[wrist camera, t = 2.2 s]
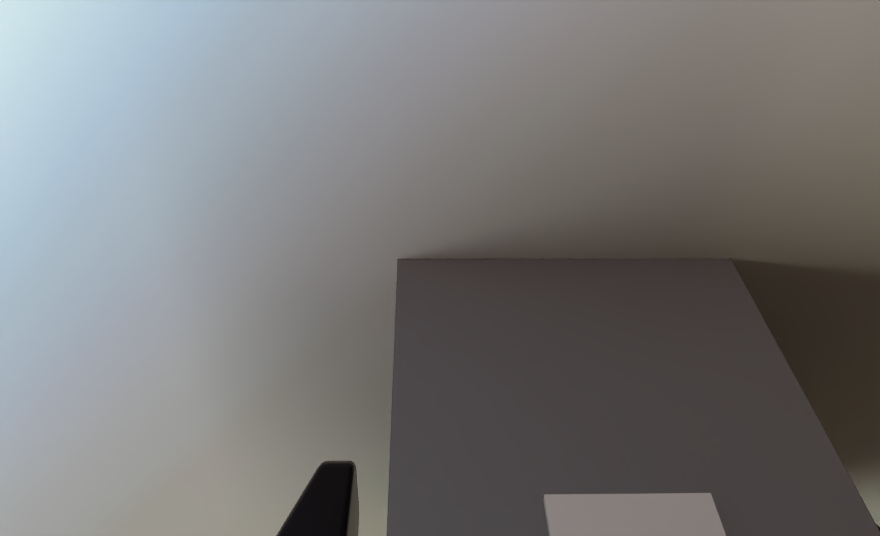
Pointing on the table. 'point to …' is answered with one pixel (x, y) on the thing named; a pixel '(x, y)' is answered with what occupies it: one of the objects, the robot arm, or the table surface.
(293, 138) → the table surface
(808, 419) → the brick
